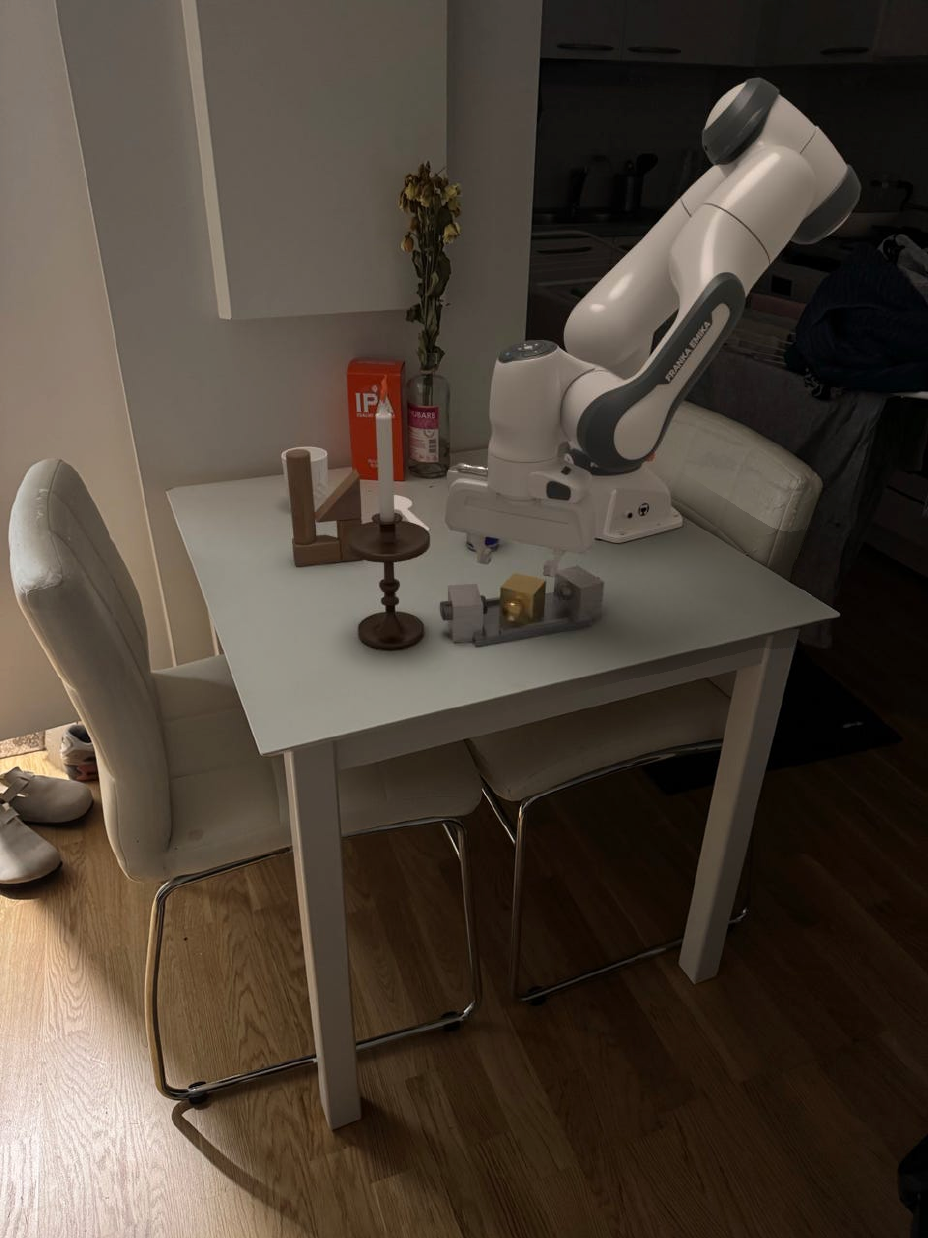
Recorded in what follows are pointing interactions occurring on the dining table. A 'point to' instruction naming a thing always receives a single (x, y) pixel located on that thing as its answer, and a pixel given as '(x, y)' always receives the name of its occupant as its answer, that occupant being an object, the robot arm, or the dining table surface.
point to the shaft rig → (482, 625)
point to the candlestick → (388, 550)
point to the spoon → (406, 510)
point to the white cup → (313, 474)
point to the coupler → (522, 598)
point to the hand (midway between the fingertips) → (516, 568)
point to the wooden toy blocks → (320, 513)
